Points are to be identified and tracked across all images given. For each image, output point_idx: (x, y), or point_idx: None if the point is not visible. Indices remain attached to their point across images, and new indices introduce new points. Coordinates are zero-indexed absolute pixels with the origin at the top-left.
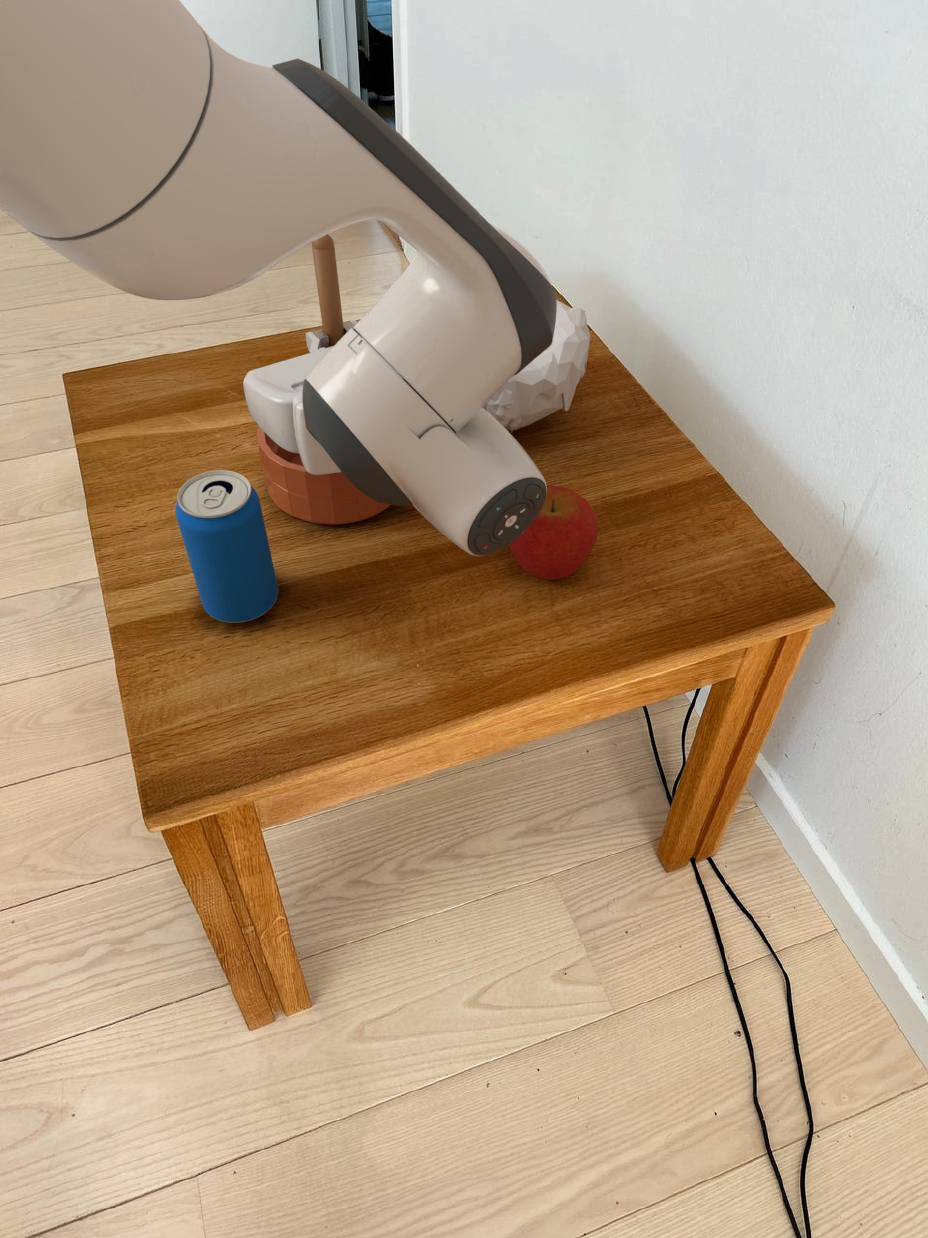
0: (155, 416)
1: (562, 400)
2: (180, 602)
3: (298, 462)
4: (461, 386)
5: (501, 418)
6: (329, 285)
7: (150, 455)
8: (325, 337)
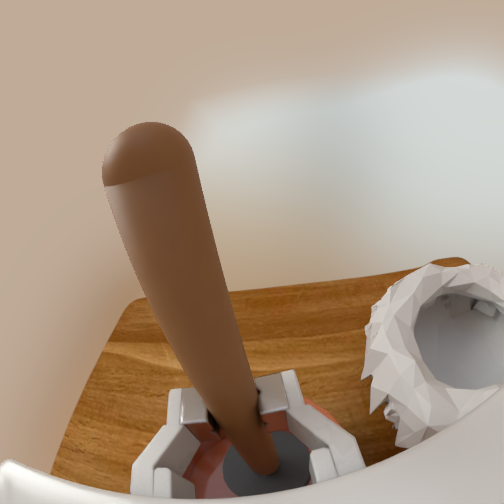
0: (149, 341)
1: None
2: None
3: (224, 448)
4: None
5: None
6: (177, 326)
7: (123, 380)
8: (199, 423)
